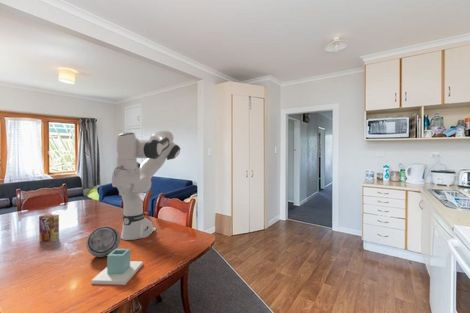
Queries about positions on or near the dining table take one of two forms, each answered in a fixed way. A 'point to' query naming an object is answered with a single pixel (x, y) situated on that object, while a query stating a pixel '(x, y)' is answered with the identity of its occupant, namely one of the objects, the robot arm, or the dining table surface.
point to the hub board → (117, 275)
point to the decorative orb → (103, 241)
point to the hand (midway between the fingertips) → (126, 193)
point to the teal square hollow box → (118, 261)
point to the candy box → (48, 228)
